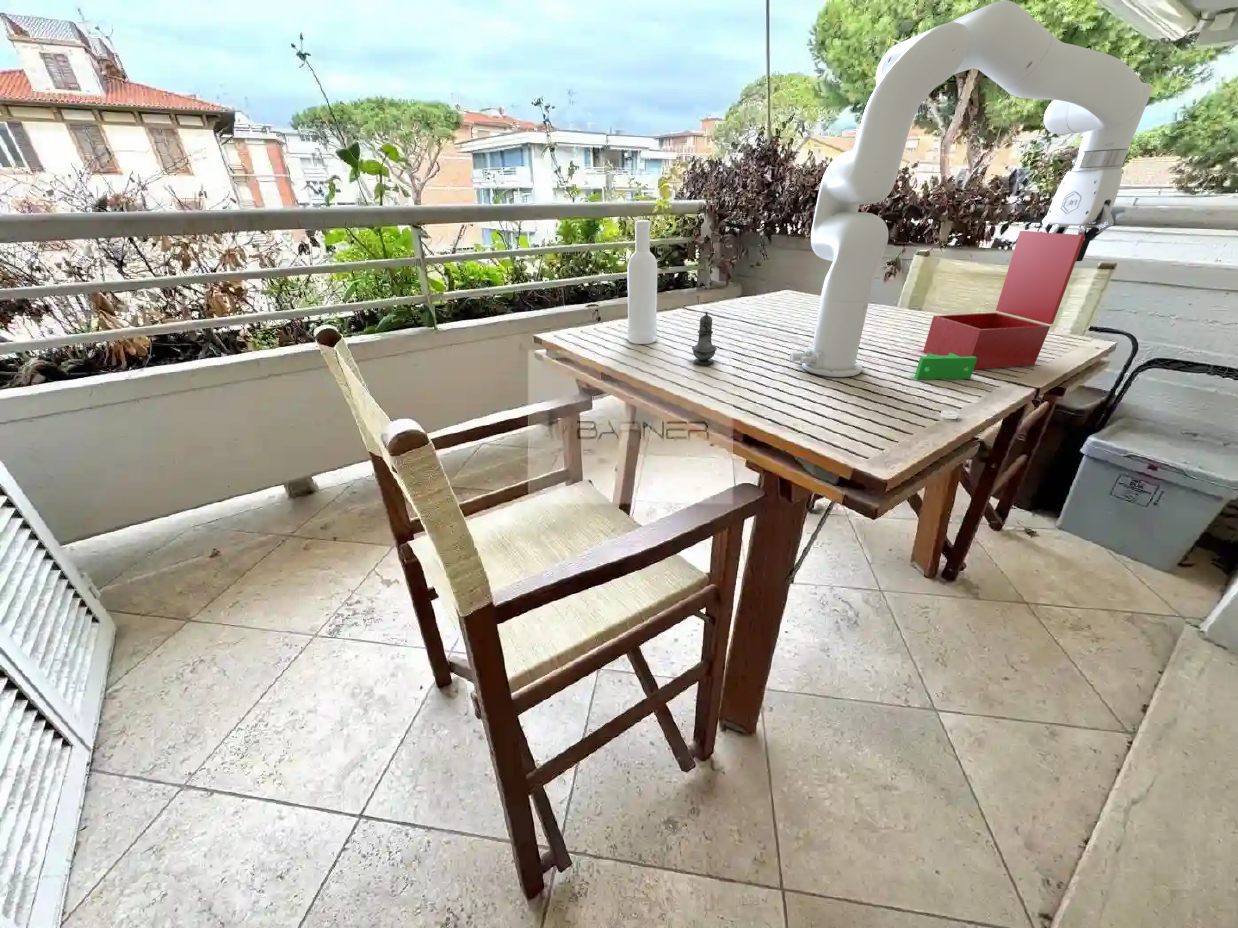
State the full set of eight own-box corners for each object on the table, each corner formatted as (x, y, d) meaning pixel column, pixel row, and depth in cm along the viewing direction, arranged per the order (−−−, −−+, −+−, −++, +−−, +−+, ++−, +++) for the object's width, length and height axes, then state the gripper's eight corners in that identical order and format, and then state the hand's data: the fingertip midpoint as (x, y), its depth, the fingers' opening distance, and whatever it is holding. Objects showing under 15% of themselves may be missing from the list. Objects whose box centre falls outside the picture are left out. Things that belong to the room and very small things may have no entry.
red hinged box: (967, 370, 107) (980, 330, 103) (922, 351, 120) (933, 315, 116) (1034, 365, 109) (1050, 326, 105) (983, 348, 122) (996, 312, 117)
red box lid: (1081, 235, 96) (1105, 233, 96) (1019, 231, 109) (1040, 229, 109) (1049, 324, 104) (1071, 322, 105) (995, 310, 117) (1014, 308, 118)
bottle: (622, 341, 134) (620, 221, 120) (639, 335, 140) (639, 219, 125) (644, 346, 130) (645, 221, 115) (662, 339, 135) (664, 220, 120)
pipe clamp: (959, 373, 106) (966, 352, 104) (970, 379, 102) (977, 358, 100) (908, 373, 106) (914, 353, 104) (916, 379, 103) (923, 358, 100)
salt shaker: (688, 365, 114) (690, 313, 109) (694, 358, 119) (697, 308, 113) (712, 367, 112) (716, 315, 107) (718, 360, 117) (722, 309, 111)
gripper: (1043, 165, 104) (1013, 256, 112) (1125, 160, 89) (1083, 265, 98) (1074, 164, 104) (1042, 255, 113) (1162, 158, 89) (1116, 263, 98)
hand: (1061, 259), depth 105 cm, fingers closed on red box lid, 5 cm apart
